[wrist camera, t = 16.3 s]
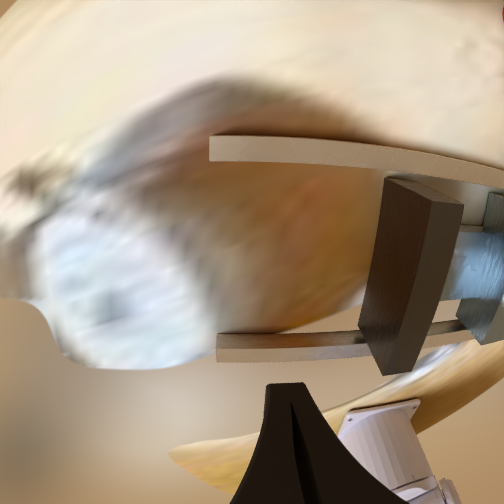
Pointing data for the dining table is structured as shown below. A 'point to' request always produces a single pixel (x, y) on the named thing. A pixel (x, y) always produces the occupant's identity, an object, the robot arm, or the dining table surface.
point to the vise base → (341, 155)
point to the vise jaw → (430, 272)
